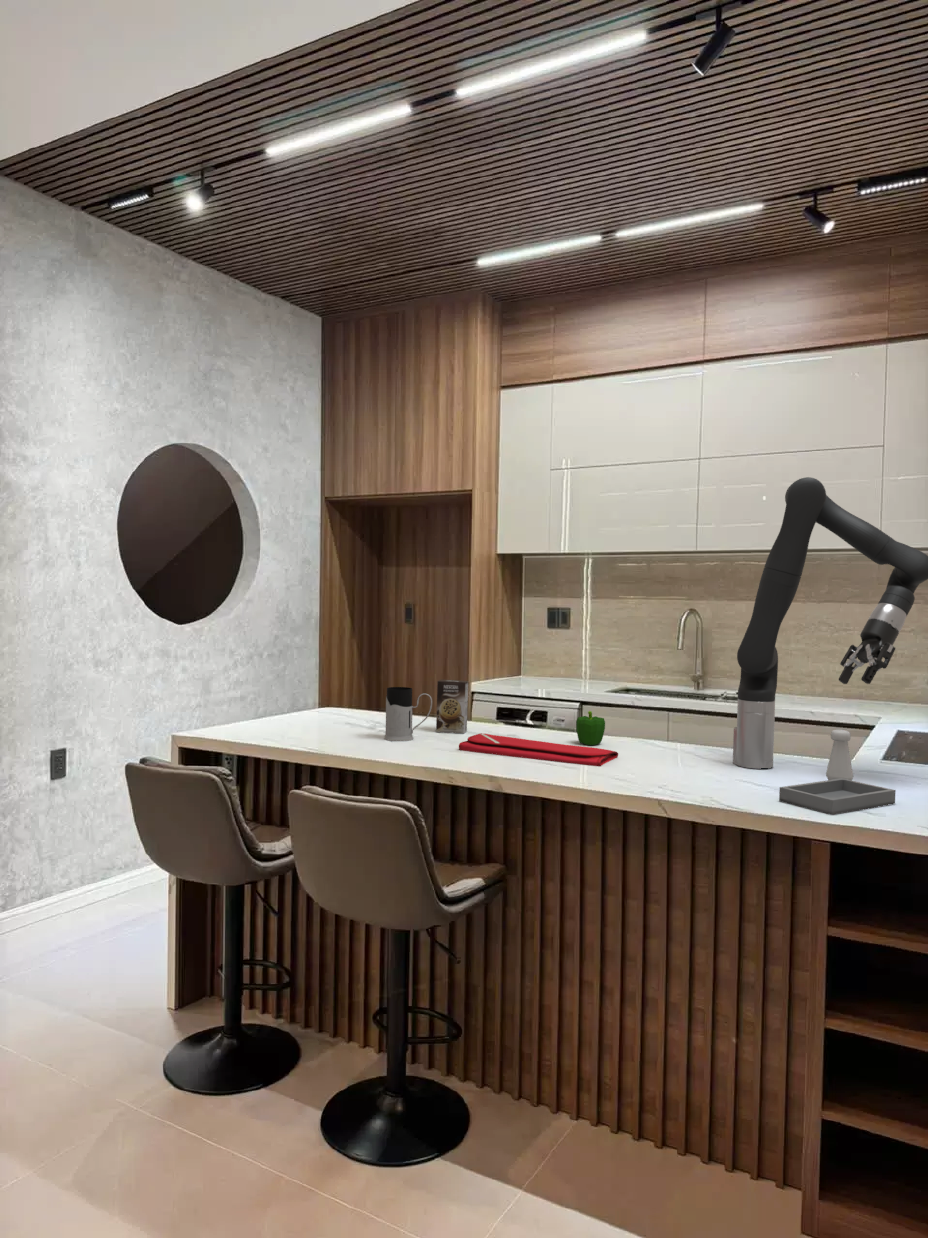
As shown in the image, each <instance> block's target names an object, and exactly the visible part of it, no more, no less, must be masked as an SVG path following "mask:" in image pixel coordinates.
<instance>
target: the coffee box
mask: <svg viewBox="0 0 928 1238" xmlns="http://www.w3.org/2000/svg"><path fill="white" fill-rule="evenodd" d="M436 687H437V689H436V690H437V691H436V693H437V694H436V721H435V724H436V725H435V727H436V728H435V733H442V734H443V733H445V734H446V733H447V734H465V733H466V732H468V707H469V706H468V703H469V702H468V701H469V700H468V699H469V680H458V679H454V680H453V679H439V680H437V686H436Z"/></svg>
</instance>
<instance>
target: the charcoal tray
mask: <svg viewBox="0 0 928 1238" xmlns="http://www.w3.org/2000/svg"><path fill="white" fill-rule="evenodd" d="M778 795H779V796H778V799H779V802H780V803H782V802H783V803H786V804H788V805H789V804H790V805H791V806H792V805H793V806H797V807H800V808H804V809H807V810H812V811H816V812H819V813H822V814H823V813H824V814H826V815H831V816H835V815H839V814H844V813H846V814H847V813H851V812H856V811H864V810H867V809H868V808H869V809H875V808H879V807H878V806H881V807H884V806H883V805H886V806H889V805H888V804H892V805H894V804H893V803H895V804H896V789H893V788H888V787H883V786H879V785H873V784H870V783H866V782H865V783H864V782H860V781H857V780H853V779H852V780H847V779H842V778H841V779H834V780H828V779H826V780H822V781H820V780H819V781H813V782H805V783H801V784H799V783H798V784H793V785H787V786H780V787H779V794H778ZM874 807H875V808H874ZM863 809H864V810H863ZM869 809H868V810H869Z"/></svg>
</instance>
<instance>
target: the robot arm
mask: <svg viewBox="0 0 928 1238" xmlns="http://www.w3.org/2000/svg"><path fill="white" fill-rule="evenodd" d="M784 496H785V497H784V501H785V510H784V515H783V519H782V524H781V526H780V530H779V532H778V535H777V537H776V538H775V540H774V543H773V545H772V547H771V549H770V551H769V553H768V556H767V559H766V561H765V563H764V567H763V570H762V573H761V577H760V580H759V583H758V587H757V591H756V595H755V600H754V605H753V608H752V609H753V610H752V613H751V618H750V621H749V623H748V625H747V629H746V631H745V634H744V635H743V638H742V640H741V643H740V645H739V647H738V649H737V654H736V656H737V657H736V661H737V664H738V666H739V667H740V679H739V685H738V688H737V706H736V707H737V708H736V709H737V710H736V711H737V713H736V715H737V717H736V726H735V727H734V726H733V727H734V728H733V739H732V740H733V741H732V742H733V745H732V763H733V765H734V764H735V765H736V766H737V767H742V768H747V769H757V770H758V769H759V770H760V769H761V768H768V769H772V768H773V767H774V750H775V748H774V746H775V743H774V742H775V715H776V712H775V711H776V692H777V689H778V671H779V653H778V650H777V647H776V643H777V639H778V634H779V631H780V628H781V625H782V622H783V620H784V618H785V617H786V615H787V612H788V611H789V609H790V607H791V605H792V603H793V601H794V598H795V597H796V594H797V592H798V588H799V584H800V582H801V578H802V576H803V575H802V574H803V571H804V567H805V563H806V559H807V555H808V549H809V543H810V539H811V536H812V533H813V530H814V527H815V525H816V523H817V524H818V525H820V526H822V527H824V528H825V529H826V530H829V531H830V532H831V533H833V534H835V535H836V536H838V537H839V538H840V539H841V540H843V541H844V542H845V543H847V544H848V545H849V546H851V547H852V548H854V549H855V550H856V551H858V552H859V553H861V555H864V556H865V557H866V558H868V559H869V560H871V561H872V562H873V563H875V564H877V565H880V566H882V565H883V566H884V565H888V566H889V565H890V566H892V567H893V569H892V571H891V573H890V575H889V578H888V582H887V584H886V588H885V590H884V592H883V594H882V596H881V597H880V598H879V601H878V603H877V605H876V606H875V607H874V609H873V610H872V611H871V614H870V615H869V617H868V619H867V621H866V623H865V625H864V626H863V628H862V630H861V632H860V634H859V635H860V638H861V643H860V644H859V645H858V646H855V645H854V644H851V645H850V646H849V648H848V649H847V651H846V653H844V654H845V655H844V656H843V658H842V659H841V661H840V663H839V664H840V666H842V667H843V670H842V672H841V673H840V675H839V677H838V681H839V682H840V683H842V684H843V685H847V684H848V683H849V681H850V679H851V678H852V676H853V673H854V671H856V670H857V669H858V668H859V667H863V666H864V665H865V664H868V666H867V667H866V669H865V671H864V673H863V674H862V676H861V679H860V680H861V681H862V682H863V683H864V684H866V685H870V684H871V683H872V681H873V680H874V678H875V676H876V674H877V672H879V671H881V670H882V669H883V670H884V669H887V667H888V665H889V663H890V661H891V659H892V658H893V655H894V653H895V651H896V647H895V646H894V644H895V641H896V640H897V638H898V636H899V635H900V632H901V630H902V629H903V627H904V624H905V621H906V618H907V617H908V615H909V613H910V611H911V609H912V607H913V605H914V603H915V600H916V599H915V598H916V597H915V595H914V594H915V591H916V590H917V588H918V586H919V585H920V584H923V583H924V582H925V581H927V580H928V555H927V554H926V553H925V552H923V551H922V550H919V549H917V548H915V547H912V546H909V545H908V544H905V543H903V542H899V541H897V540H896V539H894V538H893V537H891V536H890V535H889V534H887V533H885V532H884V531H882V530H881V529H879V528H878V527H876V526H875V525H873V524H871V523H869V522H868V521H866V520H864V519H862V518H860V517H859V516H856V515H855V514H852V513H850V512H849V511H847V510H845V508H843V507H841V506H840V505H838V504H837V503H836V502H835V501H834V500H833V499H831V498H830V496H829V495H827V491H826V489H825V486H824V485H823V483H822V482H821V481H820V480H818V479H817V478H814V477H809V476H808V477H803V478H802V477H801V478H799V479H796V480H795V481H793V482H792V483H791V484H790V486H788V487H787V490H786V491H785V494H784ZM883 659H884V661H883ZM771 767H772V768H771ZM761 770H762V769H761Z"/></svg>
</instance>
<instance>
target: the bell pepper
mask: <svg viewBox="0 0 928 1238" xmlns="http://www.w3.org/2000/svg"><path fill="white" fill-rule="evenodd" d="M587 714H588V716H587V715H583V716H578V717H577V718H576V721H575V729H576V734H577V739H578V742H579V743H580V744H582V745H585V746H596V745H599V744H601V742H602V740H603V737H604V734H605V729H606V721H605V718H604V717H599V716H595V715H594V716H593V711H591V710H589V711H587Z"/></svg>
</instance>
